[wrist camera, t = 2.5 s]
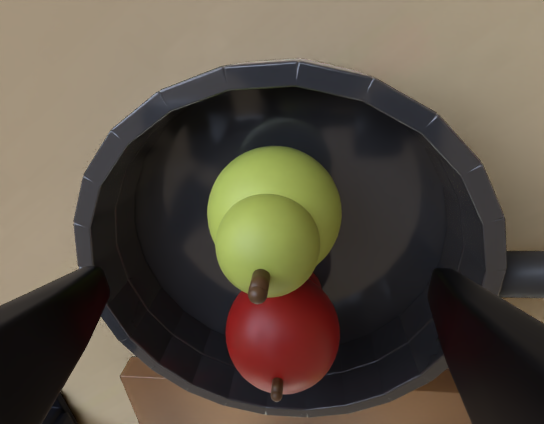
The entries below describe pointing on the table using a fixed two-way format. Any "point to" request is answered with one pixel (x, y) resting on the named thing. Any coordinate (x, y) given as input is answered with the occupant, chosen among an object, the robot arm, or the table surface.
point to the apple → (284, 339)
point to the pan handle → (524, 275)
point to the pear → (272, 220)
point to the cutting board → (225, 420)
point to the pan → (332, 269)
